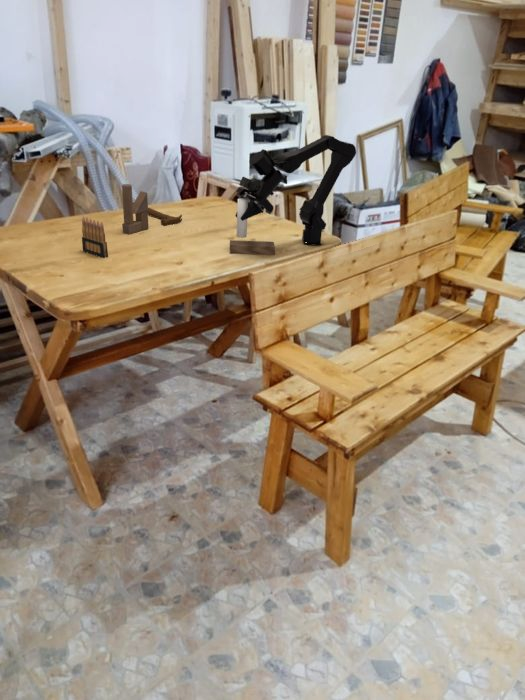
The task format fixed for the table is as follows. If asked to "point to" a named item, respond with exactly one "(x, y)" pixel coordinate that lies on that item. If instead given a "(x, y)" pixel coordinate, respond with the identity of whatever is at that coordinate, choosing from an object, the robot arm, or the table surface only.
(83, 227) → the ammunition clip
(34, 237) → the table surface
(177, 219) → the hammer
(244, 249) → the beam
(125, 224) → the brown wooden bracket
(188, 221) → the table surface
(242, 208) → the dowel
